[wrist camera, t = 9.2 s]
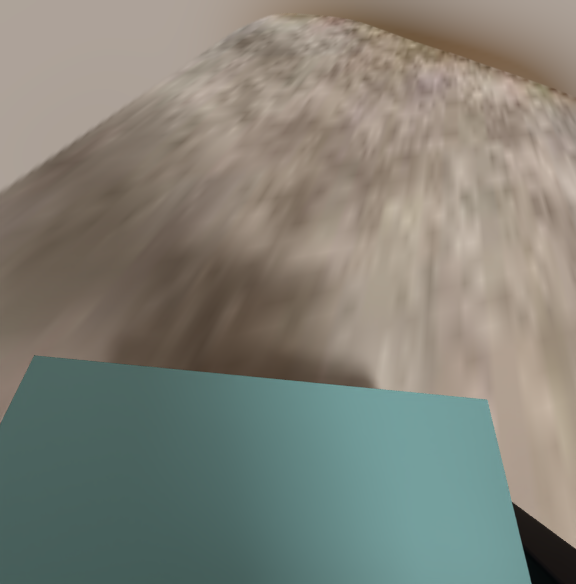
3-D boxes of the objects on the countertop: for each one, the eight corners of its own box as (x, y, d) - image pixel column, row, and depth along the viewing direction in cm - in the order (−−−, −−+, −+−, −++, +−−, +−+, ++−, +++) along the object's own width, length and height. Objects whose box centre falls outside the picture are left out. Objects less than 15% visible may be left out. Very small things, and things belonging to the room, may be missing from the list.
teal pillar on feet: (311, 558, 13) (643, 1053, 2) (177, 549, 13) (-316, 1060, 2) (314, 452, 15) (487, 399, 4) (198, 442, 15) (34, 355, 4)
